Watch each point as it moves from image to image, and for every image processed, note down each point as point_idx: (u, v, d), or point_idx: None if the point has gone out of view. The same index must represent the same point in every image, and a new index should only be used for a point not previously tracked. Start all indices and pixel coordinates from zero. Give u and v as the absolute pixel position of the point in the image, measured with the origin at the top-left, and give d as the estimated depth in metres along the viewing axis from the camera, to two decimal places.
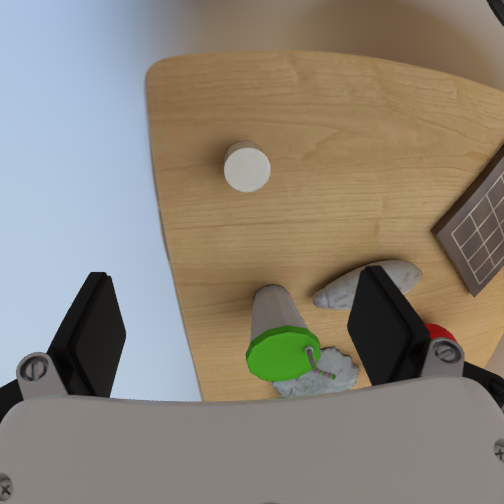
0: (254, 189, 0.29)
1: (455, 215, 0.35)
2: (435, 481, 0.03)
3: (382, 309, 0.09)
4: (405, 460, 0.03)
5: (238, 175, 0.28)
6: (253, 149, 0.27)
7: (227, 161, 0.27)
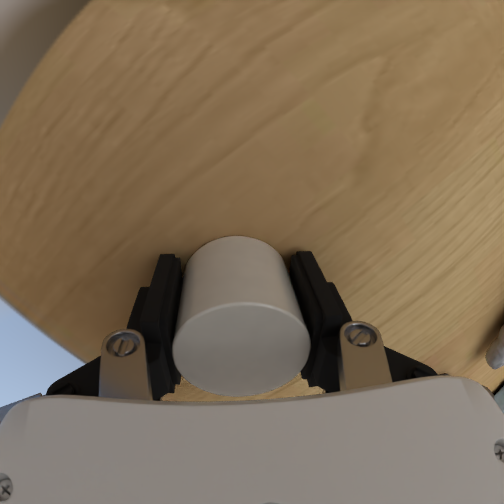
0: (294, 373, 0.10)
1: None
2: (435, 481, 0.03)
3: (303, 292, 0.10)
4: (405, 460, 0.03)
5: (234, 376, 0.09)
6: (208, 312, 0.08)
7: (180, 369, 0.09)
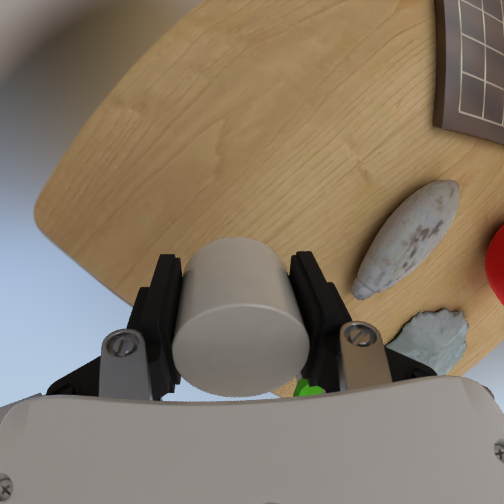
0: (293, 374, 0.10)
1: (446, 87, 0.21)
2: (435, 481, 0.03)
3: (303, 292, 0.10)
4: (405, 460, 0.03)
5: (233, 377, 0.09)
6: (208, 313, 0.08)
7: (179, 370, 0.09)
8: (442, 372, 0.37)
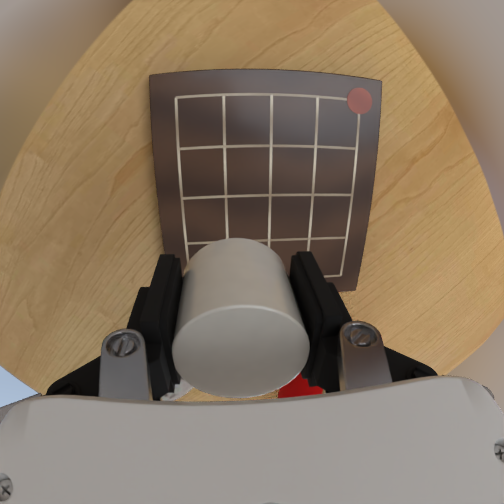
0: (293, 375, 0.10)
1: None
2: (435, 481, 0.03)
3: (303, 292, 0.10)
4: (405, 460, 0.03)
5: (233, 378, 0.09)
6: (208, 315, 0.08)
7: (180, 371, 0.09)
8: None
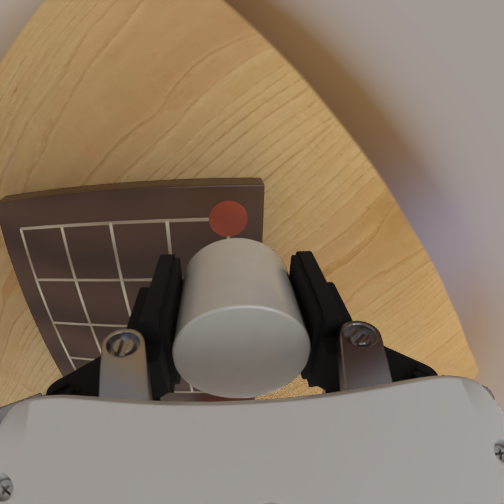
0: (294, 375, 0.10)
1: (60, 370, 0.23)
2: (435, 481, 0.03)
3: (303, 292, 0.10)
4: (405, 460, 0.03)
5: (233, 378, 0.09)
6: (209, 315, 0.08)
7: (180, 371, 0.09)
8: None
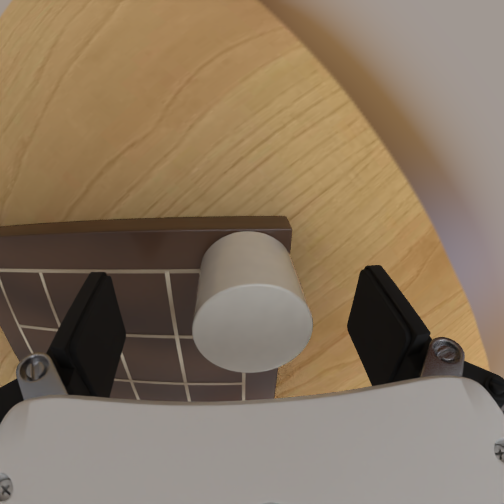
0: (298, 350, 0.11)
1: None
2: (435, 481, 0.03)
3: (382, 309, 0.09)
4: (405, 460, 0.03)
5: (245, 352, 0.11)
6: (226, 292, 0.10)
7: (198, 345, 0.11)
8: None
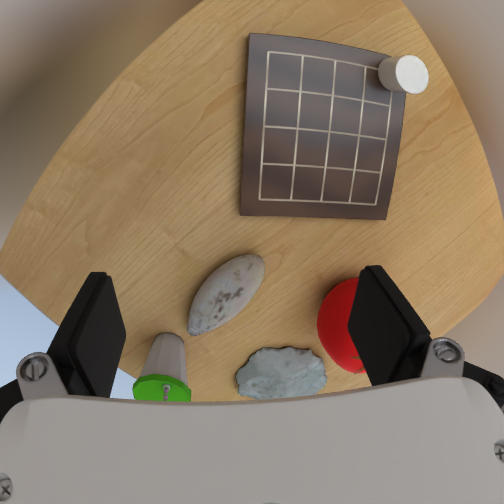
0: (425, 86, 0.25)
1: (243, 181, 0.33)
2: (435, 481, 0.03)
3: (382, 309, 0.09)
4: (405, 460, 0.03)
5: (410, 81, 0.25)
6: (406, 56, 0.23)
7: (396, 74, 0.24)
8: None
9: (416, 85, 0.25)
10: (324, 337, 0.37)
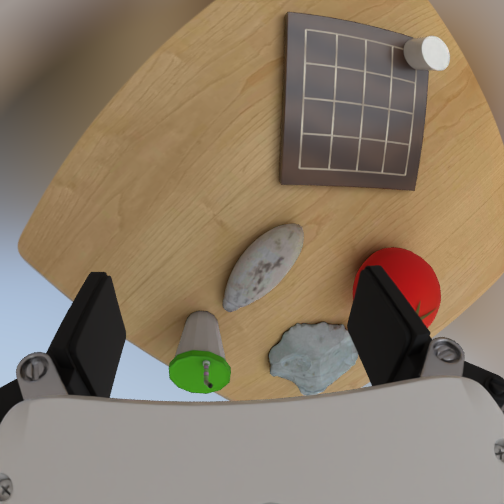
0: (447, 64, 0.25)
1: (283, 150, 0.33)
2: (435, 481, 0.03)
3: (382, 309, 0.09)
4: (405, 460, 0.03)
5: (434, 59, 0.25)
6: (430, 36, 0.23)
7: (423, 52, 0.24)
8: (332, 375, 0.50)
9: (440, 63, 0.25)
10: None
